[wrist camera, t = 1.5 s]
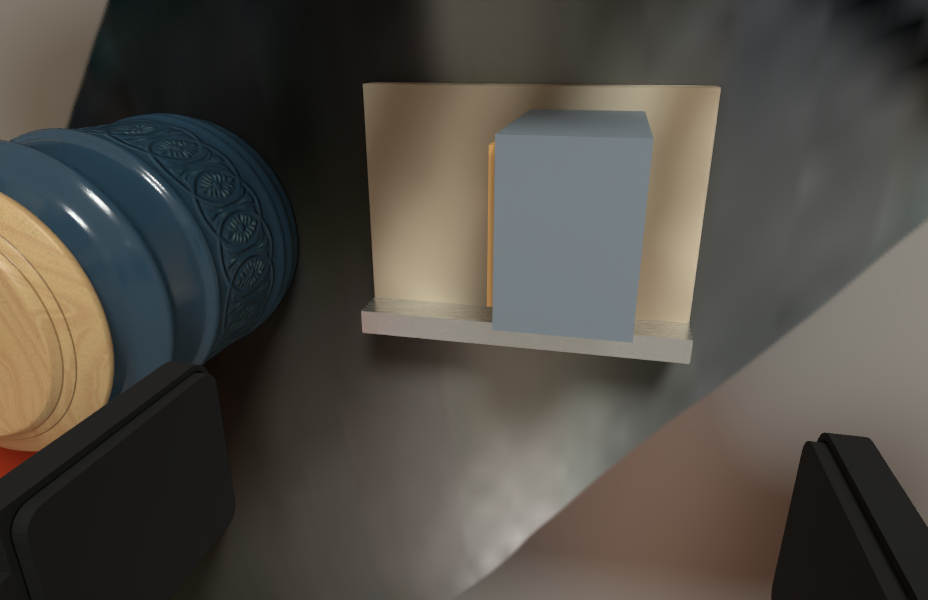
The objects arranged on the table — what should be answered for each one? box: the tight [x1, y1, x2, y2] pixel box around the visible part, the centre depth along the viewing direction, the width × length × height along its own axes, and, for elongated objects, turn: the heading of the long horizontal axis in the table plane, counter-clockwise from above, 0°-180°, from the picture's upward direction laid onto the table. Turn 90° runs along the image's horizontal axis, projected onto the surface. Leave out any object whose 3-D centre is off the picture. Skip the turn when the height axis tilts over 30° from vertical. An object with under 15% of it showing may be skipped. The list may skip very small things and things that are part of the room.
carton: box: [487, 109, 653, 343], centre depth 26 cm, size 5×7×9 cm
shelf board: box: [361, 82, 721, 364], centre depth 31 cm, size 16×12×4 cm
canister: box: [0, 113, 298, 451], centre depth 29 cm, size 13×13×18 cm
